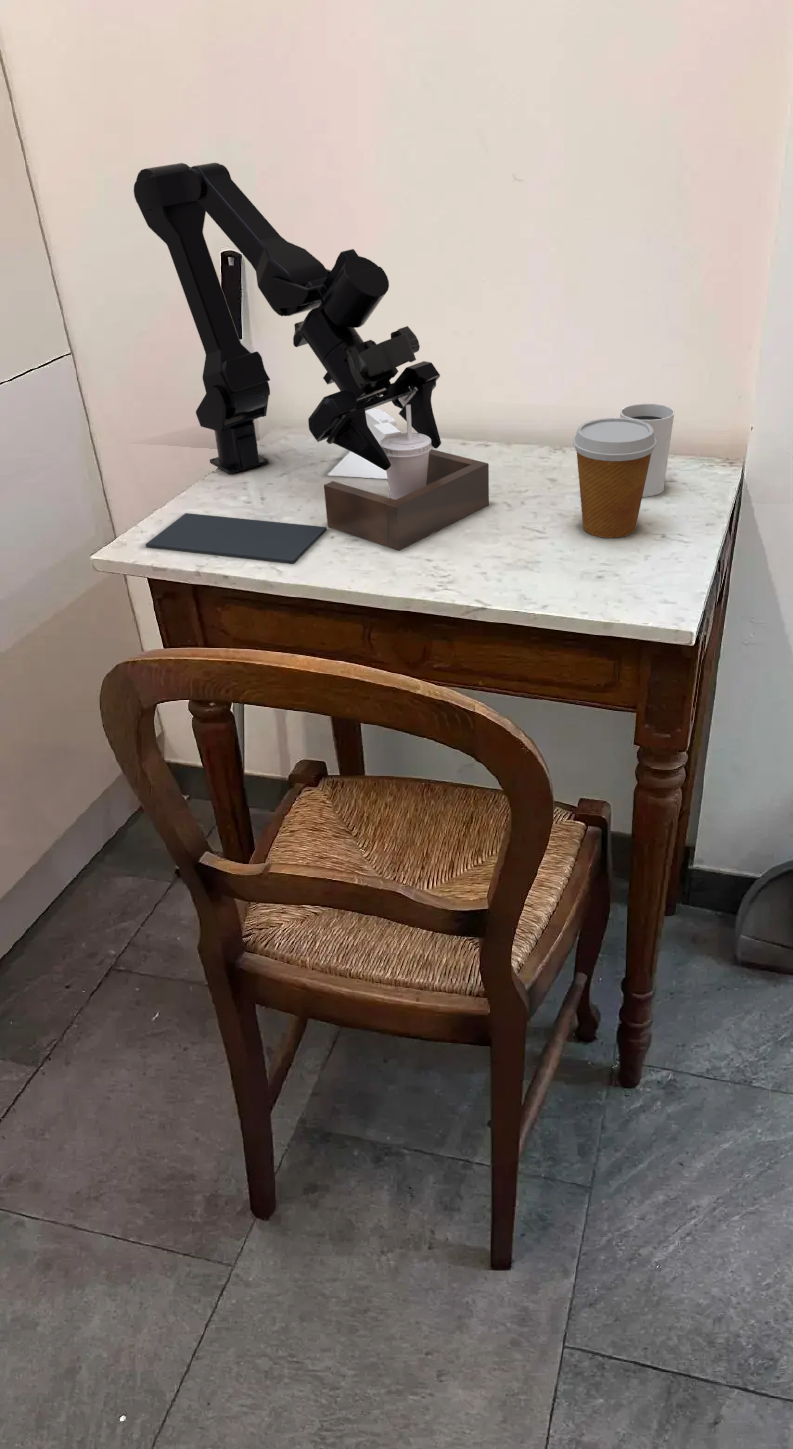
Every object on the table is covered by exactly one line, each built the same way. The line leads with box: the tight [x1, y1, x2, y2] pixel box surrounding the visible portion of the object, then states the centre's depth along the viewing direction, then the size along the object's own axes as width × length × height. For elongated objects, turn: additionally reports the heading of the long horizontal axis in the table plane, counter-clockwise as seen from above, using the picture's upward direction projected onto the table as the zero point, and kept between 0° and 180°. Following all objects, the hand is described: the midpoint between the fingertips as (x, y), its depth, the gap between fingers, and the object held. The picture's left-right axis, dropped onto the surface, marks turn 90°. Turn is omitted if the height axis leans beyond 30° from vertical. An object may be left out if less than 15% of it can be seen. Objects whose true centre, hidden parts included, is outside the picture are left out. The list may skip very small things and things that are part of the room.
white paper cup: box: [619, 403, 675, 498], centre depth 135 cm, size 7×7×10 cm
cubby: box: [323, 448, 490, 551], centre depth 133 cm, size 12×17×6 cm
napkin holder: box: [327, 407, 402, 480], centre depth 151 cm, size 15×11×6 cm
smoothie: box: [380, 405, 433, 500], centre depth 131 cm, size 6×6×14 cm
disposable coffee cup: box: [572, 417, 657, 539], centre depth 125 cm, size 10×10×12 cm
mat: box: [145, 512, 328, 564], centre depth 131 cm, size 20×10×1 cm, turn 70°
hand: (414, 457), depth 130 cm, fingers open, 9 cm apart
